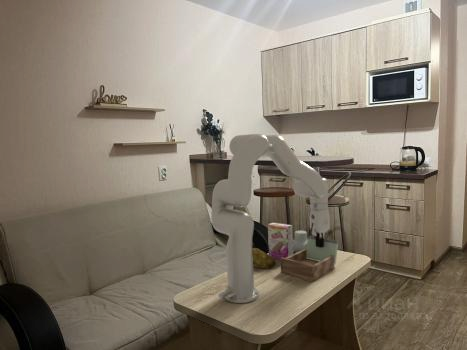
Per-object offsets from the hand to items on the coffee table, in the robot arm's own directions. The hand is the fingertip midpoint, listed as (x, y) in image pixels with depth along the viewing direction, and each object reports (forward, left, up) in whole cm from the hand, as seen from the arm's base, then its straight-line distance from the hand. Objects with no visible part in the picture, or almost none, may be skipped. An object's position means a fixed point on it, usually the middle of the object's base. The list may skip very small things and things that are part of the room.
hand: (319, 246), depth 153 cm
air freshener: (+9, +16, -8) cm, 20 cm away
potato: (-19, +19, -8) cm, 28 cm away
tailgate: (-1, 0, -6) cm, 6 cm away
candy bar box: (-5, +18, -8) cm, 20 cm away
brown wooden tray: (-10, 0, -8) cm, 13 cm away
